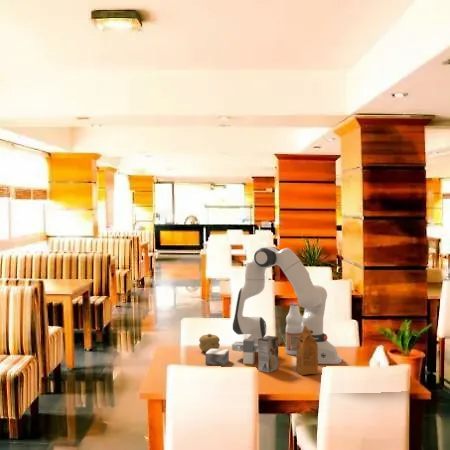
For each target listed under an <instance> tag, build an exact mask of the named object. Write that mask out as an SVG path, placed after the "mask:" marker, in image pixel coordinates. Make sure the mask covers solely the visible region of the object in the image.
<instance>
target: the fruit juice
mask: <svg viewBox="0 0 450 450" xmlns="http://www.w3.org/2000/svg"><path fill="white" fill-rule="evenodd" d="M289 306H290V307H289V310H288V314H287V315H286V318H285V322H286V326H285V354H287V355H290V356H292V355H293V356H296V354H297V347H298V341H299V338H300V336H301V333H302V318H303V315H301V312H300V309H299V306H300V305H299V303H298V302H290V303H289Z"/></svg>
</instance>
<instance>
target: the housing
mask: <svg viewBox="0 0 450 450" xmlns="http://www.w3.org/2000/svg"><path fill="white" fill-rule="evenodd" d="M242 342H243V351H242V354H243V355H242V356H243V357H242V360H243V362H242V363H243V364H244V365H247V364H248V365H253V364H255V353H254V339H248V338H244V339H243V340H242Z"/></svg>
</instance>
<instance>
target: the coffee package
mask: <svg viewBox="0 0 450 450" xmlns="http://www.w3.org/2000/svg"><path fill="white" fill-rule="evenodd" d="M311 333H313V331H312V330H308V328H307V327H306V326H304V328H303V331H302V333H301V336H300V338H299V341H298V347H297V354H296V355H295V356H296V363H295V365H296V366H295V367H296V372H297V373H298V374H299V375H301V376H307V375H315V374H318V371H319V369H318V367H319V364H318V345H317V343H316V341H315V340H314V338H313V336H312V334H311Z"/></svg>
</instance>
